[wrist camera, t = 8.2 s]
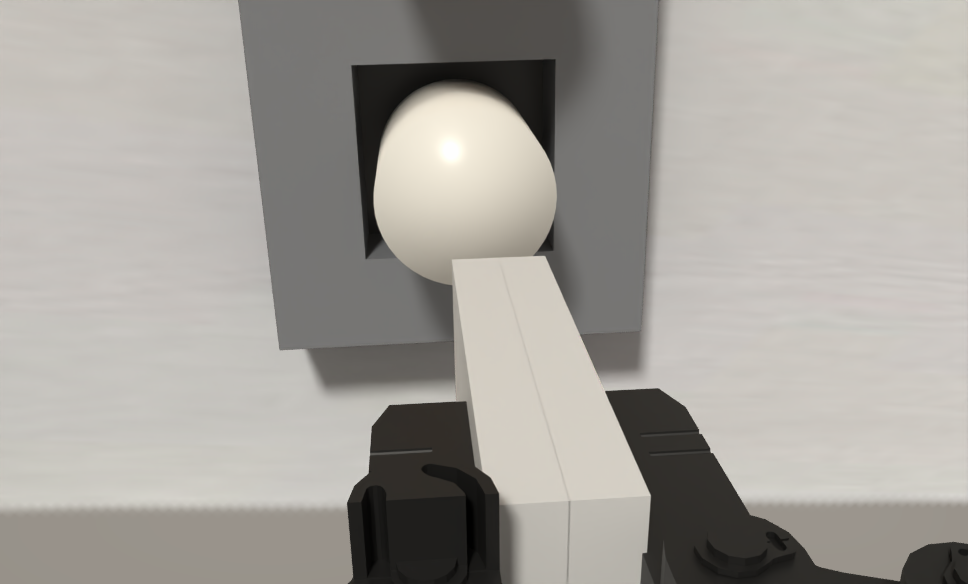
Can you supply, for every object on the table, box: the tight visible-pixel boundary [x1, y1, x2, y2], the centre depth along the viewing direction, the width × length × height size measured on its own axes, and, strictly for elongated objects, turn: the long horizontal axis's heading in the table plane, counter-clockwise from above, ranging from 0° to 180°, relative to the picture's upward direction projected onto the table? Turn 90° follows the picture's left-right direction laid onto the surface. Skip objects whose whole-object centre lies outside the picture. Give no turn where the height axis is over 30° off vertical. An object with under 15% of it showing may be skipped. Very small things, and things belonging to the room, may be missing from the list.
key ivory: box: [374, 79, 557, 285], centre depth 25 cm, size 5×5×5 cm
